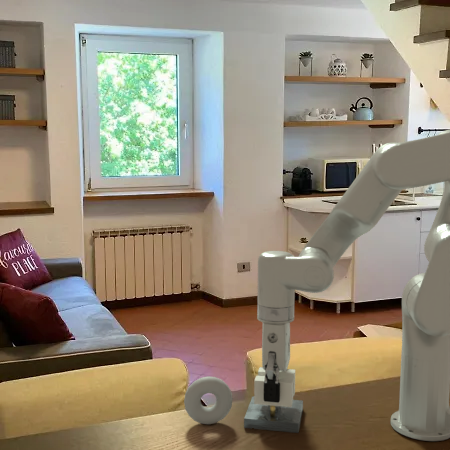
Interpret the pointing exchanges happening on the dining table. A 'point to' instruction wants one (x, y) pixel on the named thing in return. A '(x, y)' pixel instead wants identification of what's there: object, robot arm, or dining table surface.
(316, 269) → the robot arm
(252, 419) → the post base
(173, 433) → the dining table surface
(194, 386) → the donut
